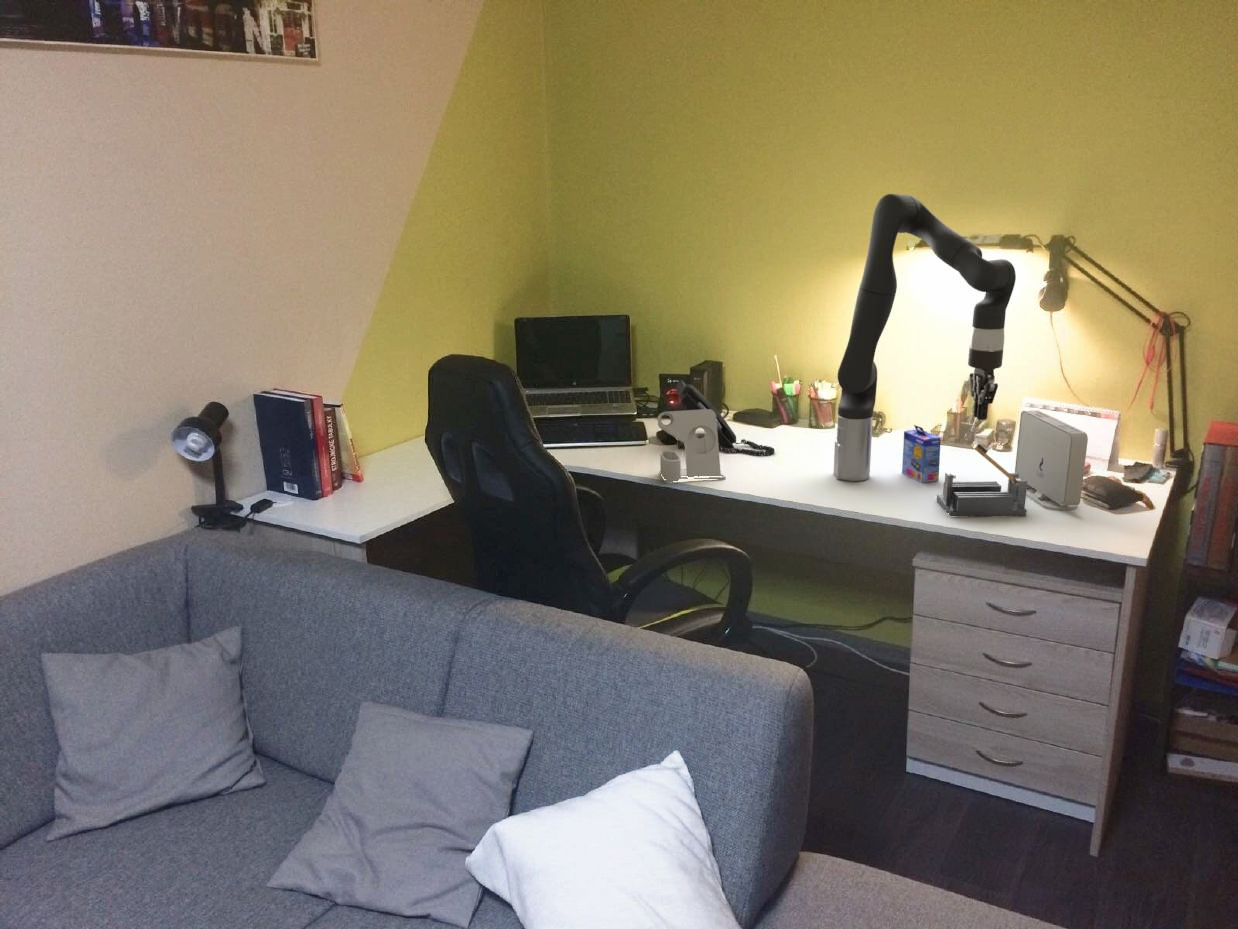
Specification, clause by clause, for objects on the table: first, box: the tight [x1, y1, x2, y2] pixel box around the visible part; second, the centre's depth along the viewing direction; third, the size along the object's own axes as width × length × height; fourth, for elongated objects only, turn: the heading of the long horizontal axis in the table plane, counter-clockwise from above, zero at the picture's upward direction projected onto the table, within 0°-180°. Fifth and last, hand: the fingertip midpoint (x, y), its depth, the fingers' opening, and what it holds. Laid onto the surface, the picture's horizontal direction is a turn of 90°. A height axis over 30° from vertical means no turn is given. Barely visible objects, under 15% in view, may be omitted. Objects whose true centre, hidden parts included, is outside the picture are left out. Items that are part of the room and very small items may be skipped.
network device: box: [1014, 409, 1089, 511], centre depth 244 cm, size 26×9×20 cm, turn 5°
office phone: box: [675, 379, 775, 457], centre depth 298 cm, size 29×28×20 cm
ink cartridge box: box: [901, 424, 942, 483], centre depth 263 cm, size 10×6×14 cm, turn 19°
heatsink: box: [936, 471, 1028, 518], centre depth 238 cm, size 18×12×9 cm, turn 88°
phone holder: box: [657, 409, 727, 484], centre depth 267 cm, size 17×10×18 cm, turn 98°
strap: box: [970, 440, 1020, 487], centre depth 236 cm, size 16×4×2 cm
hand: (980, 417), depth 233 cm, fingers closed
